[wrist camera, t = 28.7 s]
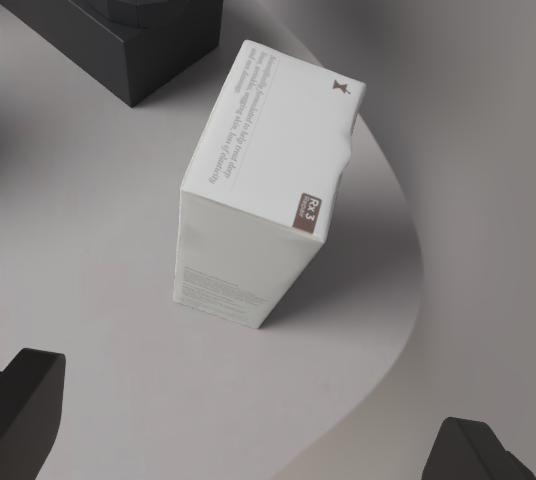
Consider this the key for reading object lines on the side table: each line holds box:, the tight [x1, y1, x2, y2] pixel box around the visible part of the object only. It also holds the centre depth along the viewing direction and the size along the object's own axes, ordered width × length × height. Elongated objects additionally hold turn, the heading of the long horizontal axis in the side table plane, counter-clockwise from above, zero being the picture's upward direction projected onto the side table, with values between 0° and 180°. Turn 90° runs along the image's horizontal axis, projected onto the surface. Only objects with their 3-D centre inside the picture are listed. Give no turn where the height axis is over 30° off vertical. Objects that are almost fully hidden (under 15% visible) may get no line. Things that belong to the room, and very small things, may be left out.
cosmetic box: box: [174, 40, 366, 329], centre depth 25 cm, size 8×6×15 cm
